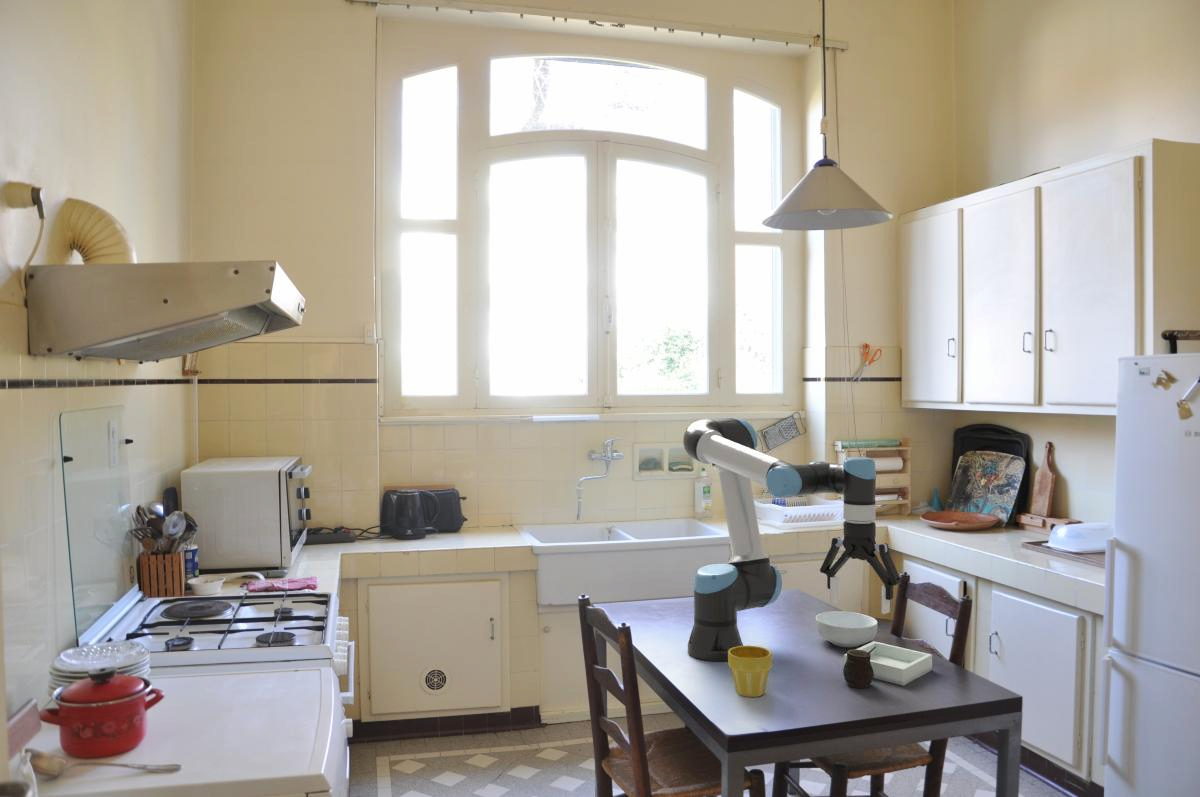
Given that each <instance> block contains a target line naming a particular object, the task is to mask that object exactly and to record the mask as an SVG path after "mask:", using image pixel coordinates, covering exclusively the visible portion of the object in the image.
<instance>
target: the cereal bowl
mask: <svg viewBox="0 0 1200 797" xmlns="http://www.w3.org/2000/svg"><path fill="white" fill-rule="evenodd" d="M815 627H816V631H817V632H818V633H819V635H820V636H821V637H822V638H823V639H825V640H827V641H828V642H830V643H831V644H832V645H834V646H838V647H841V648H859V647H860V646H861V645H866V644H868V643H869V642H872V640H873V639H874V638H875V636H876V635H877V632H878V621H877V619H876V618H874V617H872V616H870V615H866V614H863V613H858V612H853V611H844V610H842V611H841V610H839V611H838V610H837V611H835V610H832V611H824V612H821V613H818V614H817V615H815Z"/></svg>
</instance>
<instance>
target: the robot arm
mask: <svg viewBox="0 0 1200 797" xmlns="http://www.w3.org/2000/svg"><path fill="white" fill-rule="evenodd" d="M682 437H683V440H682V442H683V446H684V447H683V448H684V450H685V452H686V453H687V455H688V456H689V457H691V458H692V459H693V460H695V461H697V462H700V463H702V464H704V465H711V466H712V469H714V470H716V472H718V475H719V482H720V488H721V493H722V499H723V501H722V502H723V506H724V507H723V508H724V512H725V518H726V524H727V532H728V538H729V543H730V548H731V558H730V559H728V563H718V564H717V563H716V564H715V563H714V564H713V563H712V564H708V565H704V566H701V567H700V568H699V569H697V571H696V572H695V573H694V580H693V581H694V582H693V595H694V596H693V602H694V603H693V604H694V605H693V606H694V607H693V613H694V614H693V616H694V618H693V627H692V630H691V632H690V635H689V639H688V642H687V653H688V655H690V656H691V657H693V658H695V659H699V660H703V661H710V662H727V661H728V651H729V649H731V648H733V647H737V646H744V644H743V642H742V638H741V635H740V631H739V630H740V629H739V627H738V612H740V611H746V610H750V609H755V608H764V607H766V606H769V605H771V604H773V603H775V602H776V601H777V600H778V599H779V597H780V595H781V592H782V589H783V579H782V575H781V572H780V570H779V569H778V568H777V566H776V565H775V564H773V563H771V562H770V556H769V555H768V554H767V553H765V552H764V551H763V546H762V541H761V536H760V528H759V523H758V518H757V512H756V505H755V499H754V494H753V488H752V484H751V481H753V482H756V483H758V484H760V485H763V486H765V487H767V489H768V491H769V492H770V493H771V495H773V496H775V497H777V498H792V497H798V496H799V497H800V496H807V495H817V494H837V495H842V496H843V519H844V522H843V538H841V536H836V537H832V538H831V545H830V548H829V549H828V552H827V554H826V556H825V559H824V560H823V563H821V567H820V569H819V573H822V574H824V575H826V576H827V577H826V578H827V583H826V585H827V586H826V587H827V590H830V591H829V595H830V596H829V600H830V601H829V604H831V605H832V604H833V605H834V604H837V603H839V575H837V573H839V571H840V570H841V568H842V567H843V566H844V565H845V564H846V563H847V562H848V560H849V559H850V558H851V559H852V560H853V559H854V560H855V559H856V560H857V559H858V560H859V561H866V562H867V563H869V565H870V566H871V568H872V569H873V570H874V572H875V573H876V575H877V576H878V577H879V579H880V580H881V582H882V583H883V585H882V586H881V614H883V615H887V614H889V613H890V612H891V604H890V603H891V600H893V599H894V586H897V585H900V584H901V583H902V579H901V577H900V575H899V572H898V570H897V568H896V566H895V563H894V561H893V558H892V557H891V554H890V548H889V544H888V543H887V542H885V543H882V544H881V543H877V542H876V537H877V536H876V535H877V532H876V530H877V529H876V528H877V527H876V523H875V522H874V521H875V520H876V518H877V517H876V514H877V513H876V500H877V499H876V489H877V487H876V486H877V483H876V482H877V472H876V461H875V459H873V458H871V457H865V456H863V457H860V456H849V457H845V458H844V459H843V464H841V463H833V462H826V461H811V462H810V463H808V464H793V463H789V462H786V461H784V460H782V459H779V458H777V457H774V456H773V455H772V456H771V455H769V454H767V453H763V452H761V451H759V450H757V449H756V448H757V447H758V436H757V433H756V430H755V428H754V427H753V425H752V424H750V423H749V422H748V421H747V420H745V419H742V418H735V417H728V418H727V417H726V418H707V419H705V418H704V419H698V420H696V421H693V422H692V423H691V424H690V425H689V426H688V427H687V428H686V429H685V431H684V434H683V436H682ZM841 547H843V548H844V549H845V550H844V551H843V552H842V553H841V555H840V557H839V558H838V559H837V560H836V561H835V559H836V557H837V554H838V552H839V550H840V549H841ZM875 551H877V553H879V557H880V560H881V561H882V562H881V561H880V560H879V557H878V556H877V553H876V552H875ZM834 561H835V562H834ZM833 563H834V564H833ZM832 564H833V565H832Z"/></svg>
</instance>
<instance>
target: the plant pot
mask: <svg viewBox="0 0 1200 797" xmlns="http://www.w3.org/2000/svg"><path fill="white" fill-rule="evenodd" d="M772 655H773V654H772V652H771V651H770V650H769V649H768V648H765V647H762V646H758V645H757V646H756V645H743V646H737V647H733V648H731V649H729V651H728V662H727V664H728V667H729V668H730V669H731V673H732V678H733V682H734V688H735V692H736V693H737V694H738V695H739V696H742V697H748V698H757V697H761V696H763V695H764V694H765V691H766V687H767V680H768V675H769V671H770V669H771V668H772V665H773V664H772V663H773V662H772V661H773V656H772Z"/></svg>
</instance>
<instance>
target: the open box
mask: <svg viewBox="0 0 1200 797" xmlns="http://www.w3.org/2000/svg"><path fill="white" fill-rule="evenodd" d="M875 646H876V648H875V649H874V650H873V651H872V652H871V653H870V654H871V656H870V657H871V659H870V663H871V666H872V668H873V672H874V676H873V679H875V680H880V681H883V682H888V683H892V684H895V685H900V686H901V687H902V686H903V687H904V686H906V685H908V684H909V683H911V682H913V681H915V680H917V679H919V678H920V677H922V676H925V675H926V674H928V673H930V672H932V671H933V654H931V653H926V652H923V651H918V650H913V649H908V648H905V647H900V646H896V645H891V644H887V643H883V642H878V641H874V640H873V641H870V643H869V642H868V643H866V644H864V645H862V646H861V647H860V646H859V647H857V648H855V649H856V650H863V651H867V652H870V650H872V649H873V648H874V647H875ZM846 661H847V653H845V654H843V666H844V665H845V663H846Z"/></svg>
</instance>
